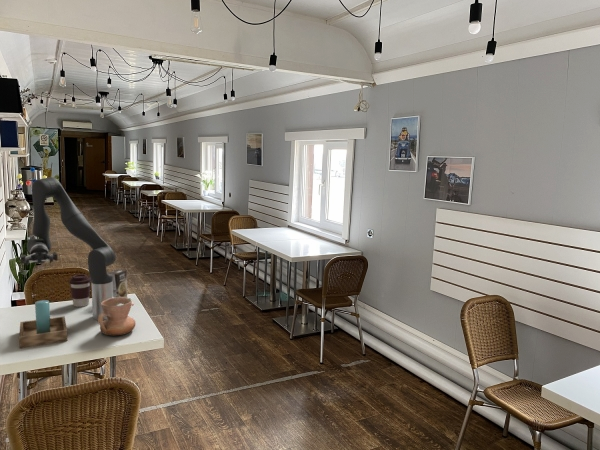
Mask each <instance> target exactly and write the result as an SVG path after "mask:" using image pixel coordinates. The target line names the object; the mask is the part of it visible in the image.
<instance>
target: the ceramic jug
mask: <svg viewBox="0 0 600 450" xmlns="http://www.w3.org/2000/svg"><path fill="white" fill-rule="evenodd" d="M119 304H120V305H119ZM134 305H135V303H134V302H133V300H132V299H131V298H130V297H128V296H127V297H115V298H110V299H107V300H105V301H103V302H102V303H101V306H102V309H103V311H104V313H101V314H100V315H99V316H98V320H97V321H98V324H99V326H100V327H99V329H100V332H102V334H104V335H108V336H123V335H126V334H128V333H130V332H132V331H133V330H134V329H135V327H136V320H135V319H134V318H133V317H131V316H129V313H130V311H131V307H132V306H134ZM104 316H106V317H107V319H105V320H103V317H104Z"/></svg>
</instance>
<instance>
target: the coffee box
mask: <svg viewBox="0 0 600 450" xmlns="http://www.w3.org/2000/svg"><path fill="white" fill-rule="evenodd" d="M107 273H108V274H111V275H112V277H113V297H114V298H115V297H127V298H128V281H127V280H128V276H127V273H128V272H127V269H117V268H116V269H114V270H111V271H108V272H107Z"/></svg>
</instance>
